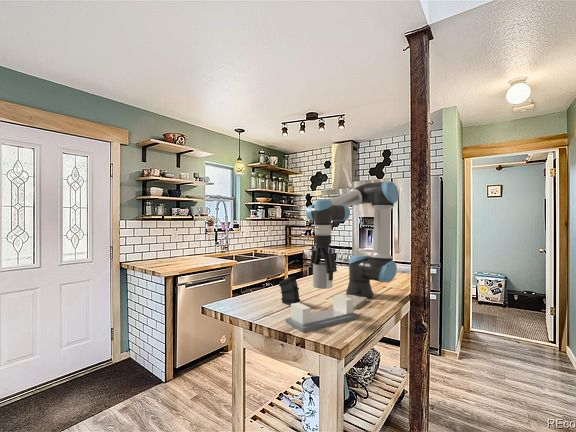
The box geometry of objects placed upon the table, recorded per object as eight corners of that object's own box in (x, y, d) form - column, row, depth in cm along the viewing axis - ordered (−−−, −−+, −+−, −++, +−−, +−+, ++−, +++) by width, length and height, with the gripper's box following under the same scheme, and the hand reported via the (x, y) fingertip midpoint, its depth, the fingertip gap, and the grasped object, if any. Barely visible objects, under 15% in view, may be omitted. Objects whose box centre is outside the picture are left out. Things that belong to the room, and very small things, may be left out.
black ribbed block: (298, 305, 148) (290, 276, 153) (283, 311, 157) (276, 283, 162) (304, 304, 151) (295, 275, 156) (289, 309, 160) (281, 282, 165)
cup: (320, 283, 139) (320, 261, 139) (335, 286, 133) (335, 263, 133) (309, 286, 133) (309, 263, 133) (324, 289, 127) (324, 266, 127)
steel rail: (339, 308, 144) (339, 307, 144) (353, 313, 137) (353, 312, 137) (290, 319, 130) (290, 317, 130) (302, 326, 122) (302, 324, 122)
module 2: (339, 307, 144) (339, 294, 144) (353, 312, 137) (353, 299, 137) (333, 308, 142) (333, 295, 142) (346, 313, 135) (346, 300, 135)
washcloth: (368, 301, 162) (368, 296, 162) (356, 310, 147) (356, 304, 147) (347, 298, 169) (347, 293, 169) (334, 306, 154) (334, 300, 154)
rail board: (339, 310, 147) (339, 307, 147) (358, 317, 136) (358, 314, 136) (285, 322, 131) (285, 318, 130) (302, 332, 119) (302, 328, 119)
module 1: (298, 316, 132) (298, 302, 132) (310, 322, 124) (310, 307, 124) (290, 317, 130) (290, 303, 130) (302, 324, 122) (302, 309, 122)
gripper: (302, 233, 140) (302, 281, 140) (332, 236, 122) (331, 292, 122) (315, 232, 144) (314, 280, 144) (345, 235, 126) (345, 289, 126)
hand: (322, 285), depth 133 cm, fingers closed on cup, 8 cm apart
